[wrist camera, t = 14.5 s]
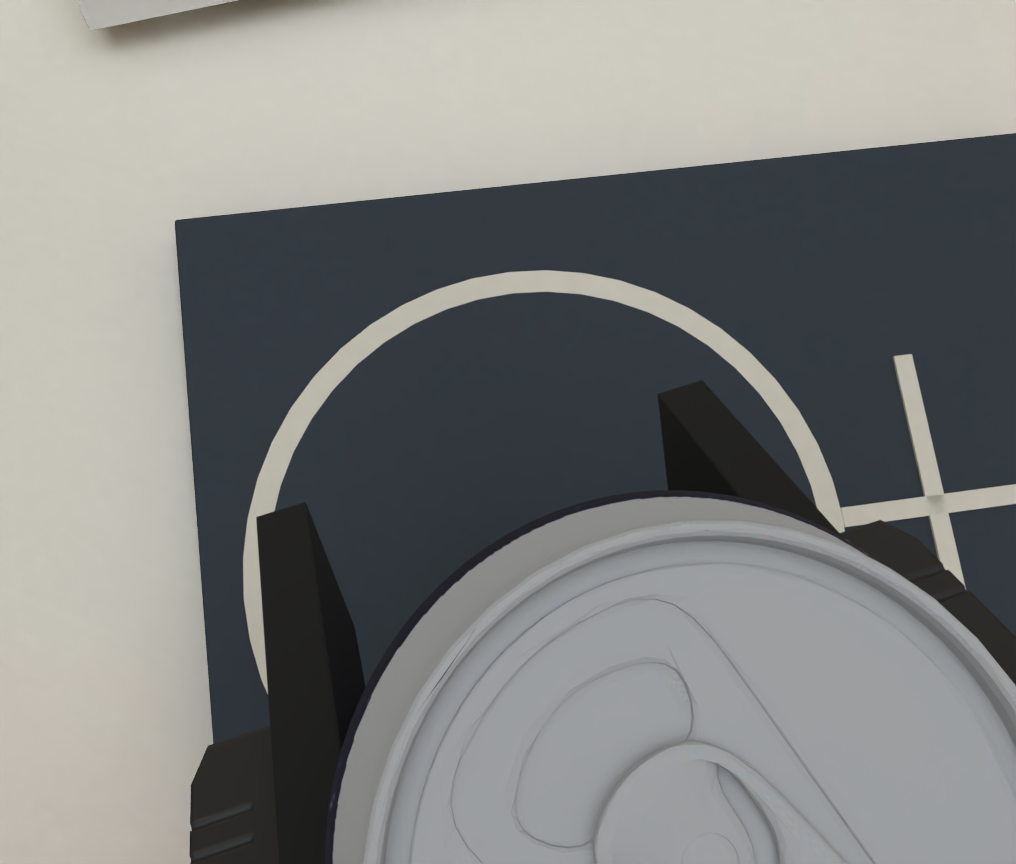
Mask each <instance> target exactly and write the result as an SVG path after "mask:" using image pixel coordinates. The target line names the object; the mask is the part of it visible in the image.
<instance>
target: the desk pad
mask: <svg viewBox="0 0 1016 864" xmlns="http://www.w3.org/2000/svg"><path fill="white" fill-rule="evenodd" d="M175 231H176V245H177V258H178V272H179V285H180V299H181V312H182V325H183V339H184V352H185V366H186V379H187V393H188V406H189V419H190V433H191V446H192V460H193V473H194V487H195V500H196V513H197V527H198V540H199V554H200V567H201V581H202V594H203V608H204V621H205V634H206V648H207V661H208V675H209V688H210V702H211V715H212V728H213V742H214V744H215V743H218V742H221V741H224V740H227V739H230V738H233V737H236V736H239V735H242V734H245V733H248V732H251V731H254V730H257V729H260V728H263V727H266V726H269V725H270V716H269V701H268V686H267V671H266V656H265V641H264V626H263V611H262V596H261V582H260V567H259V552H258V537H257V522H256V517H258V516H261V515H264V514H268V513H271V512H274V511H277V510H281V509H284V508H287V507H290V506H294V505H297V504H300V503H303V502H306V504H307V506H308V509H309V512H310V514H311V517H312V519H313V522H314V524H315V527H316V529H317V532H318V535H319V537H320V540H321V542H322V545H323V547H324V550H325V552H326V555H327V558H328V560H329V563H330V565H331V568H332V570H333V573H334V575H335V578H336V581H337V583H338V586H339V588H340V591H341V593H342V596H343V599H344V601H345V604H346V606H347V609H348V611H349V614H350V616H351V619H352V622H353V624H354V627H355V631H356V637H357V642H358V648H359V653H360V659H361V664H362V670H363V675H364V681H365V686H367V684H368V682H369V680H370V678H371V676H372V674H373V672H374V670H375V668H376V667H377V665H378V663H379V662H380V660H381V658H382V657H383V655H384V653H385V652H386V650H387V648H388V647H389V645H390V644H391V643H392V641H393V640H394V638H395V637H396V636H397V634H398V633H399V631H400V630H401V629H402V627H403V626H404V624H405V623H406V622H407V621H408V619H409V618H410V617H411V616H412V615H413V613H414V612H415V611H416V610H417V609H418V607H419V606H420V605H421V604H422V603H423V602H424V601H425V600H426V599H427V597H428V596H429V595H430V594H431V593H432V592H433V591H434V590H435V589H436V588H437V587H438V586H439V585H440V584H441V583H442V582H443V581H444V580H446V579H447V578H448V577H449V576H450V575H451V574H452V573H454V572H455V571H456V570H457V569H458V568H459V567H460V566H462V565H463V564H464V563H465V562H467V561H468V560H469V559H471V558H472V557H473V556H475V555H476V554H477V553H479V552H480V551H481V550H483V549H484V548H486V547H487V546H489V545H490V544H492V543H494V542H495V541H497V540H498V539H500V538H502V537H503V536H505V535H506V534H508V533H510V532H512V531H514V530H516V529H518V528H520V527H521V526H523V525H525V524H527V523H529V522H531V521H534V520H536V519H538V518H541V517H543V516H545V515H548V514H550V513H552V512H555V511H558V510H561V509H564V508H567V507H570V506H572V505H575V504H578V503H582V502H586V501H590V500H594V499H598V498H602V497H607V496H613V495H619V494H625V493H632V492H643V491H655V490H668V486H667V477H666V467H665V458H664V449H663V440H662V431H661V422H660V413H659V404H658V393H661V392H665V391H668V390H671V389H674V388H678V387H681V386H684V385H688V384H691V383H694V382H697V381H701V380H703V381H704V383H705V384H706V385H707V386H708V387H709V388H710V389H711V390H712V391H713V393H714V394H715V395H716V396H717V397H718V398H719V399H720V400H721V401H722V403H723V404H724V405H725V406H726V407H727V408H728V409H729V410H730V412H731V413H732V414H733V415H734V416H735V417H736V418H737V419H738V420H739V422H740V423H741V424H742V425H743V426H744V427H745V428H746V429H747V431H748V432H749V433H750V434H751V435H752V436H753V437H754V438H755V439H756V441H757V442H758V443H759V444H760V445H761V446H762V447H763V448H764V449H765V451H766V452H767V453H768V454H769V455H770V456H771V457H772V458H773V460H774V461H775V462H776V463H777V464H778V465H779V466H780V467H781V468H782V470H783V471H784V472H785V473H786V474H787V475H788V476H789V477H790V478H791V480H792V481H793V482H794V483H795V484H796V485H797V486H798V487H799V489H800V490H801V491H802V492H803V493H804V494H805V495H806V496H807V497H808V499H809V500H810V501H811V502H812V503H813V504H814V505H815V506H816V507H817V509H818V510H819V511H820V512H821V513H822V514H823V515H824V516H825V518H826V519H827V520H828V521H829V522H830V523H831V524H832V525H833V526H834V528H835V529H836V530H837V531H838V532H839V533H842V532H845V531H848V530H851V529H854V528H857V527H860V526H863V525H866V524H869V523H872V522H875V521H878V520H882V521H884V522H886V523H888V524H890V525H892V526H894V527H896V528H898V529H900V530H902V531H904V532H906V533H908V534H910V535H912V536H914V537H916V538H917V539H918V540H919V541H920V542H921V543H922V544H923V545H924V546H925V547H926V548H927V549H928V550H929V551H930V552H931V553H932V554H933V555H934V556H935V557H936V558H937V559H938V560H939V561H940V562H941V563H942V564H943V566H944V568H945V570H949V571H950V572H951V573H952V574H953V575H954V576H955V577H956V578H957V579H958V580H959V581H960V582H961V583H962V584H963V585H964V586H965V589H966V591H967V592H969V591H970V592H971V593H972V594H973V595H974V596H975V597H976V598H977V599H978V600H979V601H980V602H981V603H982V604H983V605H984V606H985V607H986V608H987V609H988V610H989V611H990V612H991V613H992V614H993V615H994V616H995V617H996V618H997V619H998V620H999V621H1000V622H1001V623H1002V624H1003V625H1004V626H1005V627H1006V628H1007V629H1008V630H1009V631H1010V632H1011V633H1012V634H1013V635H1014V636H1015V637H1016V133H1014V134H1004V135H995V136H985V137H975V138H966V139H956V140H946V141H937V142H927V143H917V144H908V145H898V146H888V147H879V148H869V149H859V150H850V151H840V152H830V153H821V154H811V155H801V156H791V157H782V158H772V159H762V160H753V161H743V162H733V163H724V164H714V165H704V166H695V167H685V168H675V169H666V170H656V171H646V172H637V173H627V174H617V175H608V176H598V177H588V178H579V179H569V180H559V181H550V182H540V183H530V184H521V185H511V186H501V187H492V188H482V189H472V190H463V191H453V192H443V193H434V194H424V195H414V196H405V197H395V198H385V199H376V200H366V201H356V202H346V203H337V204H327V205H317V206H308V207H298V208H288V209H279V210H269V211H259V212H250V213H240V214H230V215H221V216H211V217H201V218H192V219H182V220H176V221H175Z"/></svg>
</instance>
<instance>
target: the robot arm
mask: <svg viewBox="0 0 1016 864" xmlns="http://www.w3.org/2000/svg"><path fill="white" fill-rule="evenodd" d="M658 404H659V413H660V422H661V431H662V440H663V449H664V458H665V467H666V477H667V486H668V490H685V491H699V492H710V493H717V494H724V495H730V496H735V497H740V498H744V499H749V500H753V501H757V502H761V503H764V504H767V505H770V506H774V507H777V508H780V509H783V510H786V511H788V512H791V513H793V514H796V515H798V516H801V517H803V518H806V519H808V520H810V521H812V522H814V523H816V524H818V525H820V526H823V527H825V528H827V529H829V530H831V531H833V532H834V533H836V534H838V535H839V536H841V537H843V538H845V539H846V540H848V541H850V542H851V543H853V544H855V545H856V546H858V547H859V548H861V549H862V550H863V551H865V552H866V553H868V554H869V555H871V556H872V557H874V558H875V559H877V560H878V561H879V562H880V563H882V564H883V565H885V566H887V567H889V568H890V569H892V570H893V571H895V572H897V573H898V574H900V575H901V576H903V577H904V578H905V579H907V580H908V581H910V582H911V583H913V584H914V585H916V586H917V587H919V588H920V589H921V590H923V591H924V592H926V593H927V594H928V595H930V596H931V597H933V598H934V599H935V600H937V601H938V602H939V603H940V604H941V605H942V606H943V607H944V608H945V609H946V610H947V611H949V612H950V613H951V614H952V615H953V616H954V617H955V618H956V619H957V620H958V621H959V622H960V623H961V624H963V625H964V626H965V627H966V628H967V629H968V630H969V631H970V632H971V633H972V634H973V635H974V636H976V637H977V638H978V640H979V641H980V642H981V643H982V644H983V646H984V647H985V648H986V649H987V651H988V652H989V653H990V654H991V656H992V657H993V658H994V659H995V660H996V662H997V663H998V664H999V665H1000V667H1001V668H1002V669H1003V670H1004V672H1005V673H1006V674H1007V675H1008V677H1009V678H1010V679H1011V680H1012V681H1013V683H1014V684H1015V686H1016V637H1015V636H1014V635H1013V634H1012V633H1011V632H1010V631H1009V630H1008V629H1007V628H1006V627H1005V626H1004V625H1003V624H1002V623H1001V622H1000V621H999V620H998V619H997V618H996V617H995V616H994V615H993V614H992V613H991V612H990V611H989V610H988V609H987V608H986V607H985V606H984V605H983V604H982V603H981V602H980V601H979V600H978V599H977V598H976V597H975V596H974V595H973V594H972V593H971V592H970V591H969V592H967V591H966V589H965V586H964V585H963V584H962V583H961V582H960V581H959V580H958V579H957V578H956V577H955V576H954V575H953V574H952V573H951V572H950V571H949V570H945V568H944V566H943V564H942V563H941V562H940V561H939V560H938V559H937V558H936V557H935V556H934V555H933V554H932V553H931V552H930V551H929V550H928V549H927V548H926V547H925V546H924V545H923V544H922V543H921V542H920V541H919V540H918V539H917V538H916V537H914V536H912V535H910V534H908V533H906V532H904V531H902V530H900V529H898V528H896V527H894V526H892V525H890V524H888V523H886V522H884V521H882V520H878V521H875V522H872V523H869V524H866V525H863V526H860V527H857V528H854V529H851V530H848V531H845V532H842V533H839V532H838V531H837V530H836V529H835V528H834V526H833V525H832V524H831V523H830V522H829V521H828V520H827V519H826V518H825V516H824V515H823V514H822V513H821V512H820V511H819V510H818V509H817V507H816V506H815V505H814V504H813V503H812V502H811V501H810V500H809V499H808V497H807V496H806V495H805V494H804V493H803V492H802V491H801V490H800V489H799V487H798V486H797V485H796V484H795V483H794V482H793V481H792V480H791V478H790V477H789V476H788V475H787V474H786V473H785V472H784V471H783V470H782V468H781V467H780V466H779V465H778V464H777V463H776V462H775V461H774V460H773V458H772V457H771V456H770V455H769V454H768V453H767V452H766V451H765V449H764V448H763V447H762V446H761V445H760V444H759V443H758V442H757V441H756V439H755V438H754V437H753V436H752V435H751V434H750V433H749V432H748V431H747V429H746V428H745V427H744V426H743V425H742V424H741V423H740V422H739V420H738V419H737V418H736V417H735V416H734V415H733V414H732V413H731V412H730V410H729V409H728V408H727V407H726V406H725V405H724V404H723V403H722V401H721V400H720V399H719V398H718V397H717V396H716V395H715V394H714V393H713V391H712V390H711V389H710V388H709V387H708V386H707V385H706V384H705V383H704V381H703V380H701V381H697V382H694V383H691V384H688V385H684V386H681V387H678V388H674V389H671V390H668V391H665V392H661V393H658ZM256 522H257V537H258V552H259V567H260V582H261V596H262V611H263V626H264V641H265V656H266V671H267V686H268V701H269V716H270V725H269V726H266V727H263V728H260V729H257V730H254V731H251V732H248V733H245V734H242V735H239V736H236V737H233V738H230V739H227V740H224V741H221V742H218V743H215V744H212V745H209V746H208V747H207V749H206V752H205V754H204V756H203V759H202V761H201V763H200V766H199V768H198V770H197V773H196V775H195V777H194V780H193V782H192V784H191V814H190V824H191V827H192V831H190V858H191V864H325V838H326V828H327V817H328V809H329V803H330V797H331V791H332V785H333V780H334V776H335V772H336V768H337V764H338V760H339V756H340V752H341V749H342V746H343V743H344V740H345V736H346V733H347V730H348V727H349V724H350V722H351V719H352V717H353V715H354V712H355V710H356V707H357V705H358V702H359V700H360V698H361V695H362V694H363V692H364V690H365V688H366V686H365V681H364V675H363V670H362V664H361V659H360V653H359V648H358V642H357V637H356V631H355V627H354V624H353V622H352V619H351V616H350V614H349V611H348V609H347V606H346V604H345V601H344V599H343V596H342V593H341V591H340V588H339V586H338V583H337V581H336V578H335V575H334V573H333V570H332V568H331V565H330V563H329V560H328V558H327V555H326V552H325V550H324V547H323V545H322V542H321V540H320V537H319V535H318V532H317V529H316V527H315V524H314V522H313V519H312V517H311V514H310V512H309V509H308V506H307V504H306V502H303V503H300V504H297V505H294V506H290V507H287V508H284V509H281V510H277V511H274V512H271V513H268V514H264V515H261V516H258V517H256Z"/></svg>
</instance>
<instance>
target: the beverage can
mask: <svg viewBox="0 0 1016 864" xmlns="http://www.w3.org/2000/svg"><path fill="white" fill-rule="evenodd" d="M325 864H1016V686H1015V684H1014V683H1013V681H1012V680H1011V679H1010V678H1009V677H1008V675H1007V674H1006V673H1005V672H1004V670H1003V669H1002V668H1001V667H1000V665H999V664H998V663H997V662H996V660H995V659H994V658H993V657H992V656H991V654H990V653H989V652H988V651H987V649H986V648H985V647H984V646H983V644H982V643H981V642H980V641H979V640H978V638H977V637H976V636H974V635H973V634H972V633H971V632H970V631H969V630H968V629H967V628H966V627H965V626H964V625H963V624H961V623H960V622H959V621H958V620H957V619H956V618H955V617H954V616H953V615H952V614H951V613H950V612H949V611H947V610H946V609H945V608H944V607H943V606H942V605H941V604H940V603H939V602H938V601H937V600H935V599H934V598H933V597H931V596H930V595H928V594H927V593H926V592H924V591H923V590H921V589H920V588H919V587H917V586H916V585H914V584H913V583H911V582H910V581H908V580H907V579H905V578H904V577H903V576H901V575H900V574H898V573H897V572H895V571H893V570H892V569H890V568H889V567H887V566H885V565H883V564H882V563H880V562H879V561H878V560H877V559H875V558H874V557H872V556H871V555H869V554H868V553H866V552H865V551H863V550H862V549H861V548H859V547H858V546H856V545H855V544H853V543H851V542H850V541H848V540H846V539H845V538H843V537H841V536H839V535H838V534H836V533H834V532H833V531H831V530H829V529H827V528H825V527H823V526H820V525H818V524H816V523H814V522H812V521H810V520H808V519H806V518H803V517H801V516H798V515H796V514H793V513H791V512H788V511H786V510H783V509H780V508H777V507H774V506H770V505H767V504H764V503H761V502H757V501H753V500H749V499H744V498H740V497H735V496H730V495H724V494H717V493H710V492H699V491H685V490H655V491H643V492H632V493H625V494H619V495H613V496H607V497H602V498H598V499H594V500H590V501H586V502H582V503H578V504H575V505H572V506H570V507H567V508H564V509H561V510H558V511H555V512H552V513H550V514H548V515H545V516H543V517H541V518H538V519H536V520H534V521H531V522H529V523H527V524H525V525H523V526H521V527H520V528H518V529H516V530H514V531H512V532H510V533H508V534H506V535H505V536H503V537H502V538H500V539H498V540H497V541H495V542H494V543H492V544H490V545H489V546H487V547H486V548H484V549H483V550H481V551H480V552H479V553H477V554H476V555H475V556H473V557H472V558H471V559H469V560H468V561H467V562H465V563H464V564H463V565H462V566H460V567H459V568H458V569H457V570H456V571H455V572H454V573H452V574H451V575H450V576H449V577H448V578H447V579H446V580H444V581H443V582H442V583H441V584H440V585H439V586H438V587H437V588H436V589H435V590H434V591H433V592H432V593H431V594H430V595H429V596H428V597H427V599H426V600H425V601H424V602H423V603H422V604H421V605H420V606H419V607H418V609H417V610H416V611H415V612H414V613H413V615H412V616H411V617H410V618H409V619H408V621H407V622H406V623H405V624H404V626H403V627H402V629H401V630H400V631H399V633H398V634H397V636H396V637H395V638H394V640H393V641H392V643H391V644H390V645H389V647H388V648H387V650H386V652H385V653H384V655H383V657H382V658H381V660H380V662H379V663H378V665H377V667H376V668H375V670H374V672H373V674H372V676H371V678H370V680H369V682H368V684H367V686H366V688H365V690H364V692H363V694H362V695H361V698H360V700H359V702H358V705H357V707H356V710H355V712H354V715H353V717H352V719H351V722H350V724H349V727H348V730H347V733H346V736H345V740H344V743H343V746H342V749H341V752H340V756H339V760H338V764H337V768H336V772H335V776H334V780H333V785H332V791H331V797H330V803H329V809H328V817H327V828H326V838H325Z"/></svg>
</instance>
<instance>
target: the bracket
mask: <svg viewBox="0 0 1016 864" xmlns="http://www.w3.org/2000/svg"><path fill="white" fill-rule="evenodd" d="M232 1H237V0H76V2H77V4H78V6H79V8H80V10H81V12H82V14H83V16H84V18H85V20H86V22H87V24H88V26H89V28H90V30H96V29H101V28H106V27H110V26H115V25H120V24H125V23H130V22H135V21H140V20H145V19H149V18H154V17H159V16H164V15H169V14H174V13H179V12H184V11H188V10H193V9H198V8H203V7H208V6H213V5H218V4H223V3H227V2H232Z"/></svg>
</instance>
